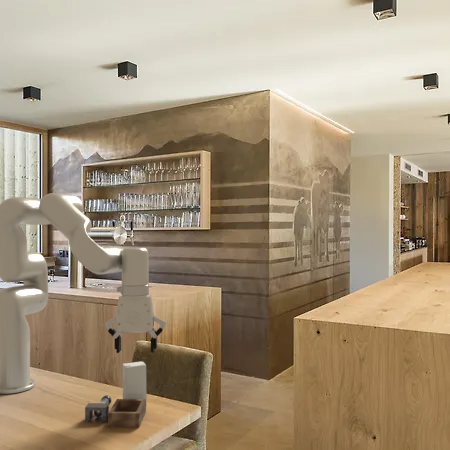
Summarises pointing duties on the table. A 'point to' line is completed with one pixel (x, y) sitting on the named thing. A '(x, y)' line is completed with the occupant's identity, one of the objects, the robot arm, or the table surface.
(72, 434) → the table surface
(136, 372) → the skincare box
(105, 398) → the lock pin
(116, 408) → the brown wooden open box
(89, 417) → the pin mount
